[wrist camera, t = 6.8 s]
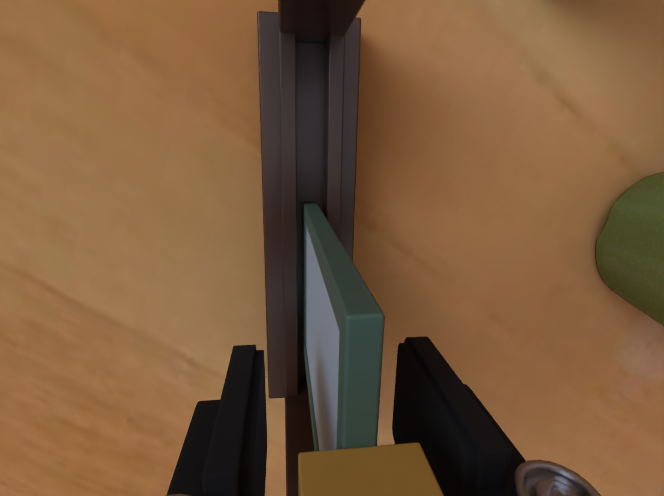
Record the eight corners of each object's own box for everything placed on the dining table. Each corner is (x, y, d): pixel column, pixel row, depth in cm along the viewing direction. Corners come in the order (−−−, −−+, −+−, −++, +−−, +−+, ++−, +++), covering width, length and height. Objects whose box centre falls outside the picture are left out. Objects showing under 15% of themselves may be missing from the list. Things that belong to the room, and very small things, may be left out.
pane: (288, 350, 18) (311, 993, 4) (286, 202, 16) (316, 520, 2) (330, 348, 18) (475, 949, 5) (333, 202, 16) (592, 489, 3)
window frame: (269, 381, 20) (250, 768, 8) (259, 22, 16) (170, -464, 3) (343, 376, 21) (439, 731, 8) (354, 28, 16) (605, -367, 4)
